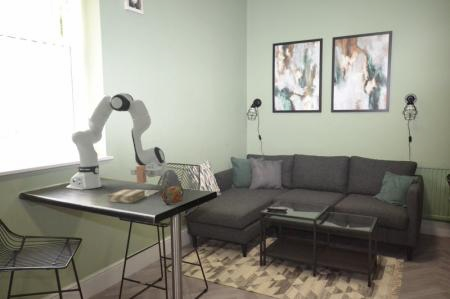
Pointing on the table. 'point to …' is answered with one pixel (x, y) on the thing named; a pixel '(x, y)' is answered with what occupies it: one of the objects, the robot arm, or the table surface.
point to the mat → (150, 192)
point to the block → (141, 174)
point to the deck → (127, 196)
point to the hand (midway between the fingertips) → (140, 173)
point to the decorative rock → (170, 180)
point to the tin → (172, 194)
